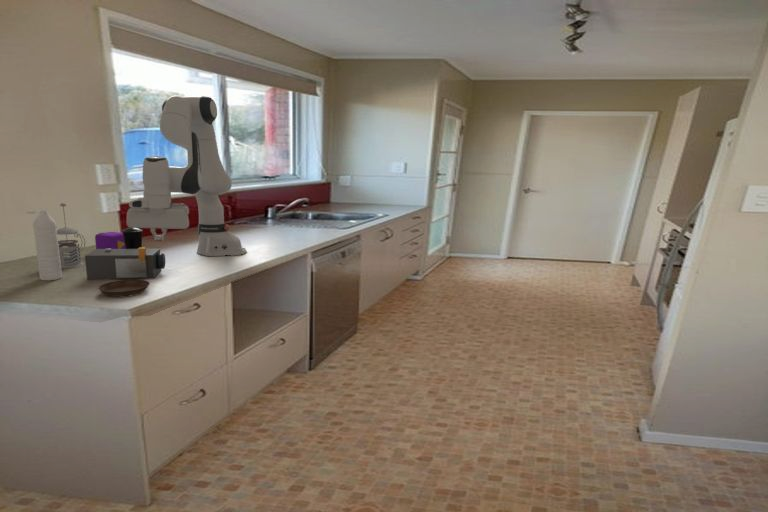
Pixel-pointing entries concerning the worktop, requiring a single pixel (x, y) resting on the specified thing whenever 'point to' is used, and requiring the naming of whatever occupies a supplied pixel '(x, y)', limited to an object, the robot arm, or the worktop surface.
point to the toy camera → (110, 240)
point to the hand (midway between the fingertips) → (159, 240)
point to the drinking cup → (132, 238)
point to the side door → (132, 266)
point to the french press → (69, 247)
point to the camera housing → (103, 260)
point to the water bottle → (46, 246)
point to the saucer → (124, 287)
